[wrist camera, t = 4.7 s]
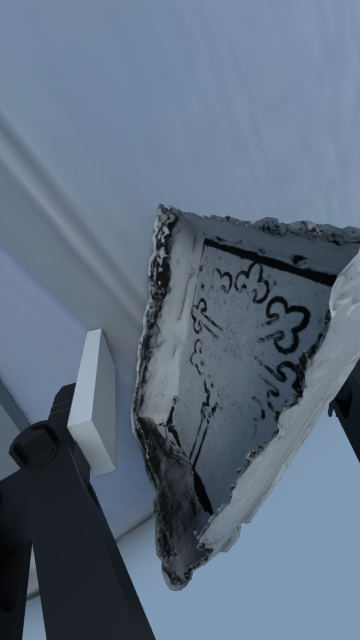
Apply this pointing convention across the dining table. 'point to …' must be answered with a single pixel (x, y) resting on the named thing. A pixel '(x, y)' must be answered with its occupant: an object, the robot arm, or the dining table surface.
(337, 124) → the dining table surface
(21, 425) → the mat
